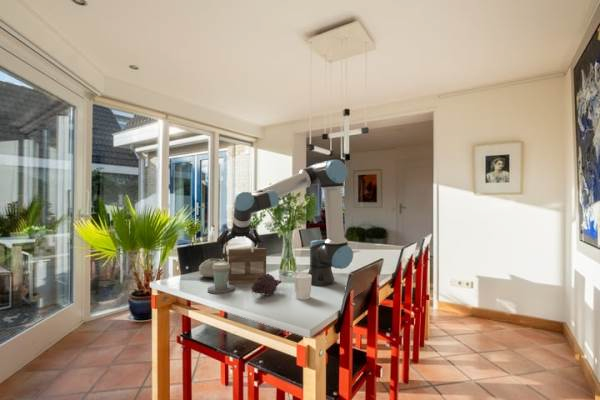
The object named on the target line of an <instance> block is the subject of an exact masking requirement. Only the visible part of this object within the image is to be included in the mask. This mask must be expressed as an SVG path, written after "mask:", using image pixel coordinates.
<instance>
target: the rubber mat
mask: <svg viewBox="0 0 600 400" xmlns="http://www.w3.org/2000/svg"><path fill="white" fill-rule="evenodd" d="M235 287H236V286H235V285H234V284H227V288H226V289H221V290H218V289H215V284H214V285H211V286H209V287H207V293H209V294H214V295H222V294H223V295H224V294H228V293H232V292H234V291H235V290H236V288H235Z"/></svg>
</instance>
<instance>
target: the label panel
mask: <svg viewBox="0 0 600 400" xmlns="http://www.w3.org/2000/svg"><path fill="white" fill-rule="evenodd" d="M228 263H229V265H230V268H229V276H228V284H229V285H245V284H247V285H248V284H254V283H255V282H256V280H257V278H258V277H259V276H260V275H263V274H267V247H260V248H259V247H258V248H257V247H254V251H253V252H252V250H251V247H250V248H229V249H228Z"/></svg>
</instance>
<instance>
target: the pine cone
mask: <svg viewBox="0 0 600 400" xmlns="http://www.w3.org/2000/svg"><path fill="white" fill-rule="evenodd" d="M281 283H282V280H279V279H275V277H274V276H273V275H272V274H270V273H266V274H263V275H260V276H259V277H258V278H257V280H256V282H255V283H252V286H251V288H250V289H251V292H252V293H253V292H254V294H260V295H261V294H265V296H270V295H274V293H276V292H275V291H277V287H278V285H280V284H281Z"/></svg>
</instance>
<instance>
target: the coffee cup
mask: <svg viewBox="0 0 600 400" xmlns="http://www.w3.org/2000/svg"><path fill="white" fill-rule="evenodd" d="M212 268H213V275H214V278H213V283H214V285H215V289H218V290H221V289H226V288H227V284H228V276H229V268H230V265H229V261H228V262H217V263H214V264H213V267H212Z"/></svg>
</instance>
